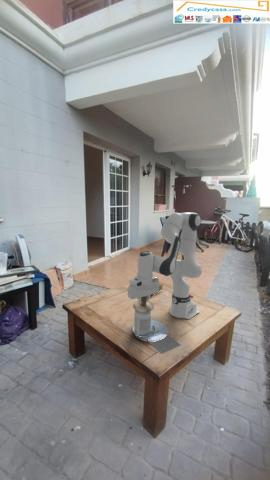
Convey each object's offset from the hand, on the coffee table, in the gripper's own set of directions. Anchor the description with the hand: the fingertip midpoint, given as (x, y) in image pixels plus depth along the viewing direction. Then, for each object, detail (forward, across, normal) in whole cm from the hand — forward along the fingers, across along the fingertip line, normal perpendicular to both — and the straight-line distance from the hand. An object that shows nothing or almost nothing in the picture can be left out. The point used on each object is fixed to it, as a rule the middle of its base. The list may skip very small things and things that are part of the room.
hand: (143, 302), depth 126 cm
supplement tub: (+20, 0, 0) cm, 20 cm away
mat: (+20, -5, +13) cm, 24 cm away
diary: (+20, -43, -53) cm, 71 cm away
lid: (+3, 0, 0) cm, 3 cm away
